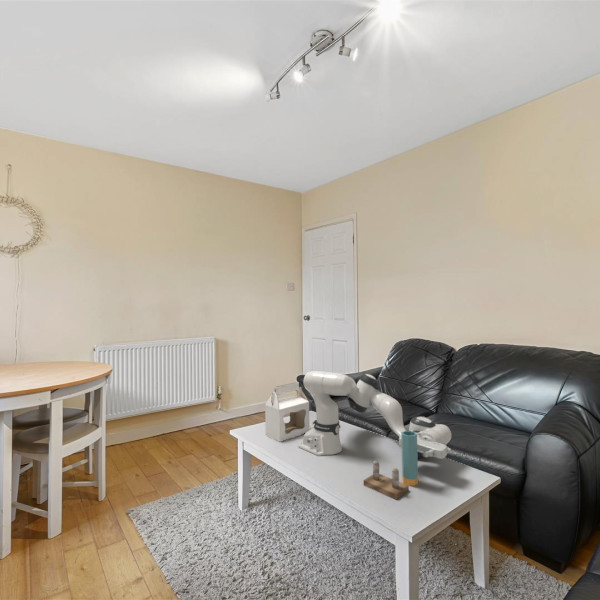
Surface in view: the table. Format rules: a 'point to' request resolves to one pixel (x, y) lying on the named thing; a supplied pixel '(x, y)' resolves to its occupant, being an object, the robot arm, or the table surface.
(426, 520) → the table surface
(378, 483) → the pin board
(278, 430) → the gable box
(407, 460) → the sleeve
